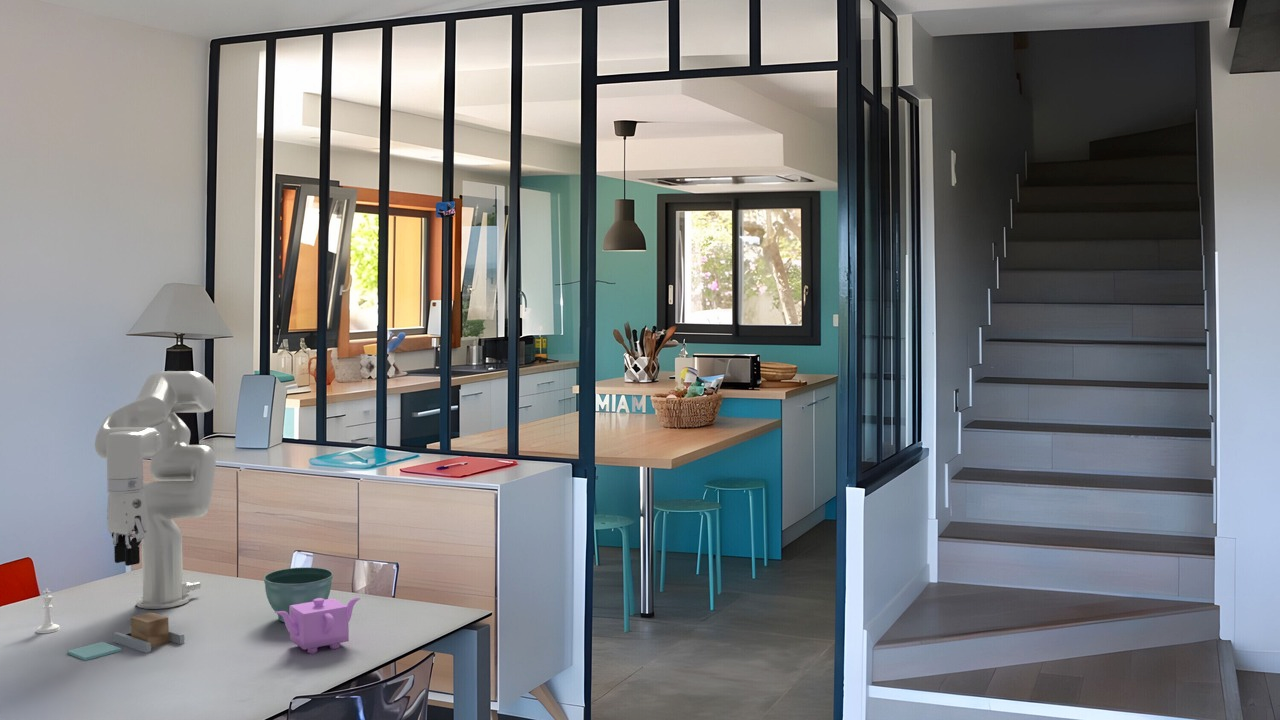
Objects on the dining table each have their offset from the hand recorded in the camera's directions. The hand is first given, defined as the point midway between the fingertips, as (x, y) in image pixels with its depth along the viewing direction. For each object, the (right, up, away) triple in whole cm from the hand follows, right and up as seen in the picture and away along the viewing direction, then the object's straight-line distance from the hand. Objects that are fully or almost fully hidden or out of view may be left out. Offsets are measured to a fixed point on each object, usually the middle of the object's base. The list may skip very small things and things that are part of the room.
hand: (127, 562), depth 251 cm
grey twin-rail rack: (+7, -17, -4) cm, 19 cm away
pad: (-2, -18, -11) cm, 21 cm away
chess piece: (-21, -17, +5) cm, 28 cm away
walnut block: (+7, -18, -4) cm, 20 cm away
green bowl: (+35, -17, +15) cm, 42 cm away
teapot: (+47, -18, -7) cm, 51 cm away
